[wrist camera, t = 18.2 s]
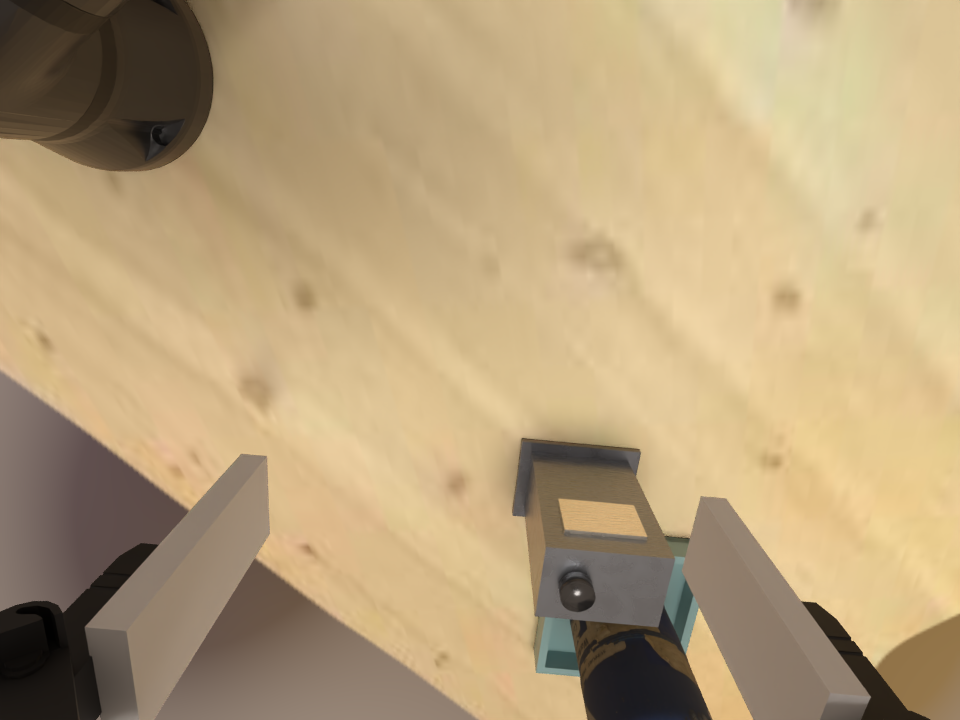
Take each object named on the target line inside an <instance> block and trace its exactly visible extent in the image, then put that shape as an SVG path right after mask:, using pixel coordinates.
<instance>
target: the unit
mask: <svg viewBox="0 0 960 720" xmlns="http://www.w3.org/2000/svg"><path fill="white" fill-rule="evenodd" d="M640 454H641V452H640V450H639V449H629V448H619V447H608V446H597V445H586V444H576V443H565V442H554V441H543V440H533V439H522V443H521V450H520V458H519V466H518V473H517V481H516V489H515V496H514V504H513V512H512V513H513V516H523V517H525V521H526V531H527V541H528V551H529V561H530V571H531V581H532V591H533V601H534V611H535V616H538V617H549V618H560V619H572V620H583V621H594V622H605V623H616V624H627V625H639V626H650V627H658V626H659V622H660V618H661V614H662V610H663V606H664V602H665V598H666V594H667V590H668V586H669V582H670V578H671V574H672V570H673V566H674V562H675V557H674V555H673V553H672V551H671V549H670V547H669V545H668V543H667V541H666V538H665V536H664V534H663V532H662V530H661V528H660V526H659V524H658V522H657V520H656V518H655V516H654V514H653V512H652V509H651V507H650V505H649V503H648V501H647V499H646V497H645V495H644V493H643V491H642V489H641V487H640V485H639V483H638V480H637V478H636V473H637V468H638V464H639V459H640Z"/></svg>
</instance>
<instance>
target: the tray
mask: <svg viewBox="0 0 960 720" xmlns="http://www.w3.org/2000/svg"><path fill="white" fill-rule="evenodd" d="M665 538H666V541H667V543H668V545H669V547H670V549H671V551H672V553H673V555H674V557H675V562H674V566H673V570H672V574H671V578H670V582H669V586H668V590H667V594H666V598H665V602H664V606H665V609H666V612H667V614H668V616H669V618H670V620H671V622H672V624H673V627H674V629H675V631H676V633H677V635H678V638H679V640H680V642H681V645H682V647H683V649H684V652H685V654H686V651H687V648H688V644H689V641H690V637H691V633H692V630H693V626H694V622H695V619H696V615H697V612H698V608H699V606H698V604H697V602H696V600H695V598H694V595H693V593H692V591H691V589H690V587H689V585H688V583H687V581H686V579H685V577H684V575H683V573H682V568H683V564H684V560H685V556H686V552H687V548H688V545H689V541H690V539H688V538H677V537H666V536H665ZM534 656H535V667H536V673H544V674H556V675H567V676H578V677H580V673H579V668H578V663H577V657H576V652H575V646H574V641H573V636H572V631H571V625H570V619H560V618H549V617H539V620H538V626H537V632H536V638H535V645H534Z"/></svg>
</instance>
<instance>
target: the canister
mask: <svg viewBox="0 0 960 720" xmlns="http://www.w3.org/2000/svg"><path fill="white" fill-rule="evenodd" d="M570 625H571V631H572V636H573V641H574V646H575V652H576V657H577V663H578V668H579V673H580V680H581V688H582V693H583V698H584V703H585V708H586V714H587V719H588V720H712V718H711V715H710V713H709V711H708V708H707V706H706V703H705V701H704V699H703V696H702V694H701V691H700V689H699V687H698V684H697V682H696V679H695V677H694V675H693V673H692V670H691V668H690V665H689V663H688V659H687V656H686V654H685V652H684V649H683V647H682V645H681V642H680V640H679V638H678V635H677V633H676V631H675V629H674V627H673V624H672V622H671V620H670V618H669V616H668V614H667V612H666V609H665V606H663V610H662V614H661V618H660V622H659V626H658V627H650V626H639V625H627V624H616V623H605V622H594V621H583V620H572V619H570Z"/></svg>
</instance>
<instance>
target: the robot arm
mask: <svg viewBox="0 0 960 720" xmlns="http://www.w3.org/2000/svg"><path fill="white" fill-rule="evenodd" d="M212 91H213V75H212V66H211V59H210V55H209V50H208V47H207V44H206V41H205V38H204V35H203V33H202V30H201V28H200V26H199V24H198V22H197V20H196V18H195V16H194V14H193V13H192V11H191V9H190V8H189V6H188V5H187V3H186V2H185V0H0V138H6V139H20V140H32V141H34V142H36V143H38V144H40V145H42V146H44V147H46V148H48V149H50V150H52V151H54V152H56V153H58V154H60V155H62V156H64V157H66V158H68V159H70V160H72V161H74V162H77V163H80V164H82V165H85V166H89V167H92V168H97V169H101V170H108V171H146V170H151V169H155V168H158V167H161V166H164V165H166V164H168V163H170V162H172V161H173V160H175V159H177V158H178V157H179V156H181V155H182V154H183V153H184V152H185V151H187V150H188V148H189V147H190V146H191V145H192V144H193V143H194V141H195V140H196V139H197V137H198V136H199V134H200V132H201V131H202V129H203V127H204V124H205V122H206V119H207V117H208V113H209V110H210V105H211V100H212ZM269 534H270V527H269V499H268V471H267V456H259V455H248V454H241V455H240V456H239V457H238V458H237V459H236V460H235V462H234V463H233V464H232V465H231V466H230V467H229V468H228V469H227V470H226V472H225V473H224V474H223V475H222V476H221V477H220V478H219V479H218V480H217V481H216V483H215V484H214V485H213V486H212V487H211V488H210V489H209V490H208V491H207V493H206V494H205V495H204V496H203V497H202V498H201V499H200V500H199V501H198V502H197V504H196V505H195V506H194V507H193V508H192V509H191V510H190V511H189V512H188V514H187V515H186V516H185V517H184V518H183V519H182V520H181V521H180V522H179V523H178V525H177V526H176V527H175V528H174V529H173V530H172V531H171V532H170V533H169V535H168V536H167V537H166V538H165V539H164V540H163V541H162V542H161V543H160V544H159V545H155V544H144V543H141V544H139V545H137V546H136V547H134V548H132V549H131V550H129V551H127V552H125V553H124V554H122V555H120V556H119V557H118V558H117V559H116V560H115V561H114V562H113V563H112V564H111V565H110V566H109V567H108V568H107V569H106V570H105V571H104V572H103V575H100V576H99V578H97V579H96V580H95V581H94V582H93V583H92V584H91V587H90V589H86V590H85V591H84V593H82V594H81V596H80V597H79V598H78V599H77V600H76V601H75V602H74V603H73V604H72V605H71V606H70V607H69V608H68V609H67V610H66V611H65V612H64V613H62V611H61V609H60V608H59V606H58V605H56V604H54V603H51V602H49V601H32V602H28V603H23V604H19V605H15V606H13V607H10V608H8V609H5V610H3V611H1V612H0V720H96V719H97V718H98V717H99V715H100V717H101V720H154V719H155V717H156V716H157V714H158V712H159V711H160V709H161V708H162V706H163V704H164V703H165V701H166V700H167V698H168V696H169V695H170V693H171V692H172V690H173V688H174V687H175V685H176V684H177V682H178V680H179V679H180V677H181V676H182V674H183V672H184V671H185V669H186V667H187V666H188V664H189V663H190V661H191V659H192V658H193V656H194V655H195V653H196V651H197V650H198V648H199V647H200V645H201V643H202V642H203V640H204V638H205V637H206V635H207V634H208V632H209V631H210V629H211V627H212V626H213V624H214V622H215V621H216V619H217V618H218V616H219V614H220V613H221V611H222V609H223V608H224V606H225V605H226V603H227V602H228V600H229V598H230V597H231V595H232V594H233V592H234V590H235V589H236V587H237V585H238V584H239V582H240V581H241V579H242V577H243V576H244V574H245V573H246V571H247V569H248V568H249V566H250V565H251V563H252V561H253V560H254V558H255V557H256V555H257V553H258V552H259V550H260V549H261V547H262V545H263V544H264V542H265V541H266V539H267V537H268V536H269ZM682 573H683V575H684V577H685V579H686V581H687V583H688V585H689V587H690V589H691V591H692V593H693V595H694V598H695V600H696V602H697V604H698V606H699V608H700V610H701V612H702V614H703V616H704V618H705V620H706V622H707V624H708V626H709V629H710V631H711V633H712V635H713V637H714V639H715V641H716V643H717V645H718V647H719V649H720V651H721V653H722V655H723V657H724V660H725V662H726V664H727V666H728V668H729V670H730V672H731V674H732V676H733V678H734V680H735V682H736V684H737V686H738V688H739V691H740V693H741V695H742V697H743V699H744V701H745V703H746V705H747V707H748V709H749V711H750V713H751V715H752V717H753V719H754V720H930V719H928V718H926V717H924V716H922V715H919V714H917V713H915V712H912V711H908V710H907V709H906V708H905V706H904V705H903V704H902V702H901V701H900V700H899V698H898V697H897V696H896V695H895V693H894V692H893V691H892V689H891V688H890V687H889V686H888V684H887V683H886V682H885V681H884V679H883V678H882V677H881V675H880V674H879V673H878V672H877V670H876V669H875V668H874V666H873V665H872V664H871V663H870V661H869V660H868V659H867V657H864V656H863V652H862V651H861V650H860V649H859V647H858V646H857V645H856V643H855V642H854V641H851V637H850V636H849V634H848V633H847V632H846V631H845V629H844V628H843V627H842V626H841V624H840V623H839V622H838V620H837V619H836V618H834V617H833V616H832V615H831V614H829V613H828V612H827V611H826V610H824V609H823V608H822V607H821V606H819V605H818V604H817V603H813V602H802V601H800V599H799V598H798V596H797V595H796V594H795V592H794V591H793V590H792V588H791V587H790V586H789V584H788V583H787V581H786V580H785V579H784V577H783V576H782V575H781V573H780V572H779V570H778V569H777V568H776V566H775V565H774V564H773V562H772V561H771V560H770V558H769V557H768V555H767V554H766V553H765V551H764V550H763V549H762V547H761V546H760V544H759V543H758V542H757V540H756V539H755V538H754V536H753V535H752V534H751V532H750V531H749V529H748V528H747V527H746V525H745V524H744V523H743V521H742V520H741V518H740V517H739V516H738V514H737V513H736V512H735V510H734V509H733V508H732V506H731V505H730V503H729V502H728V501H727V499H725V498H714V497H703V496H701V498H700V502H699V506H698V509H697V513H696V517H695V521H694V525H693V529H692V533H691V537H690V541H689V545H688V548H687V552H686V556H685V560H684V564H683V568H682Z"/></svg>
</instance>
